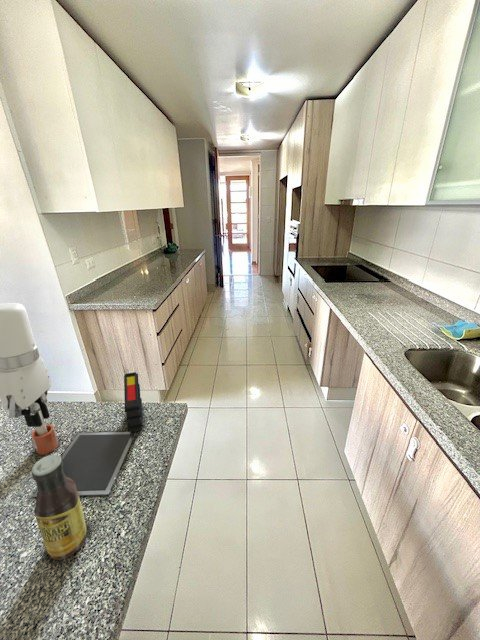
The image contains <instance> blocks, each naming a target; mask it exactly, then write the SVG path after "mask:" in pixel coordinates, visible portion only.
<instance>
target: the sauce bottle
mask: <svg viewBox="0 0 480 640" xmlns="http://www.w3.org/2000/svg"><path fill="white" fill-rule="evenodd" d="M31 477H32V480H33V481H35V484H36V489H37V490H38V492H37V497H35V506H34V516H35V520H36V523H37V525H38V528H39V532H40V535H41V537H42V540H43V544H44V548H45V549H46V553H48V555H49V556H50V558H51V559H53V560H56V561H62V560H63V559H66V558H67V559H68V557H71V556H72V555H74V554H75V553H76V552H77V551H78V550H79V549H80V548H81V547H82V546H83V544H84V542H85V540H86V537H87V523H86V519H85V515H84V509H83V506H82V502H81V498H80V496H79V494H78V492H77V488H76V484H75V482H74V481H73V480H72V479H70V478H68V477H66V475H65V474H64V471H63V461H62V458H61V455H59V454H49V455H46V456H44V457H42V458H40V459H39V460H38V461H36V462H35V463H34V464H33V466H32V468H31Z"/></svg>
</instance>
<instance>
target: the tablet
mask: <svg viewBox="0 0 480 640" xmlns="http://www.w3.org/2000/svg"><path fill="white" fill-rule="evenodd" d="M136 435H137V431H135V432H131V431H104V432H103V431H101V432H98V431H97V432H78V433H77V434H76V435H75V437H74V438H73V440H72V441H71V442H70V444H69V445H68V447H67V448H66V449H65V451H64V452H63V453H62V455H60V457H61V458H62V461H63V471H64V474H65V475H66V477H68V478H70V479H72V480H73V481H74V482H75V484H76V488H77V492H78V494H79V497H95V496H97V497H99V496H109V495H110V493H111V491H112V489H113V486H114V484H115V482H116V480H117V478H118V475H119V472H120V471H121V468H122V466H123V464H124V462H125V459H126V457H127V455H128V453H129V450H130V449H131V447H132V443H133V441H134V439H135V436H136ZM37 492H38V489H37V490H36V491H35V492H34V494H33V495H32V498H36V497H37Z"/></svg>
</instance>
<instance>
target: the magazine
mask: <svg viewBox="0 0 480 640" xmlns="http://www.w3.org/2000/svg"><path fill="white" fill-rule="evenodd" d="M123 389H124V390H123V391H124V392H123V393H124V396H123V397H124V412H125V413H126V421H127V422H128V423H127V424H128V426H127V429H128V430H130V431H129V432H140V431H142V429H143V426H144V422H143V419H144V418H143V399H142V397H141V385H140V383H139V373H137V372H135V371H134V372H128V373H127V372H126V373H125V374H124V375H123Z"/></svg>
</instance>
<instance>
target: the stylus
mask: <svg viewBox="0 0 480 640" xmlns="http://www.w3.org/2000/svg"><path fill="white" fill-rule="evenodd" d="M33 404H34V407H35V410H36V412H39V415H40V418H41V421H42V425H41V426H40V427H35V429H36V430H37V433H38V436H43V435H45V434H47V433H48V431H47V428H46V425H47V424H46V421H45V419H44V418H43V415H42V412H41V408H40V406H39V404H38V403H33Z"/></svg>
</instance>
